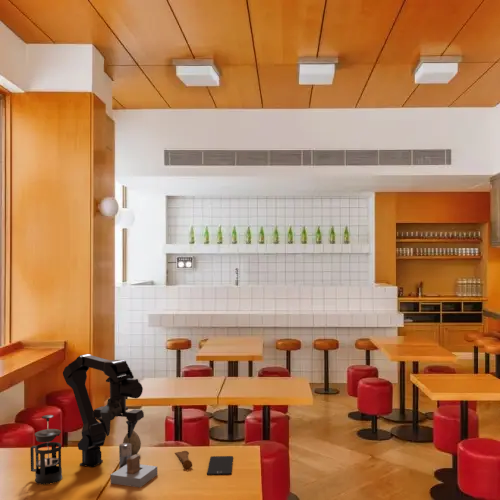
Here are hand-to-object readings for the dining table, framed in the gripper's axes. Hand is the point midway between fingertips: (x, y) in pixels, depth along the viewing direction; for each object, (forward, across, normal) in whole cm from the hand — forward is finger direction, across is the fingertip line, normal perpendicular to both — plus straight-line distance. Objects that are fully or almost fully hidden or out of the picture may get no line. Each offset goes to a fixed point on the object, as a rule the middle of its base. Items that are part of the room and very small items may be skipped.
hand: (118, 436), depth 215 cm
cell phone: (+14, +34, +17) cm, 40 cm away
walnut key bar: (+13, +9, -4) cm, 16 cm away
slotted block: (+13, +9, -4) cm, 16 cm away
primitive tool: (+14, +17, +18) cm, 29 cm away
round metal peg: (+13, -1, +6) cm, 14 cm away
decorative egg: (+13, -5, +17) cm, 22 cm away
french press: (+13, -21, -14) cm, 28 cm away
